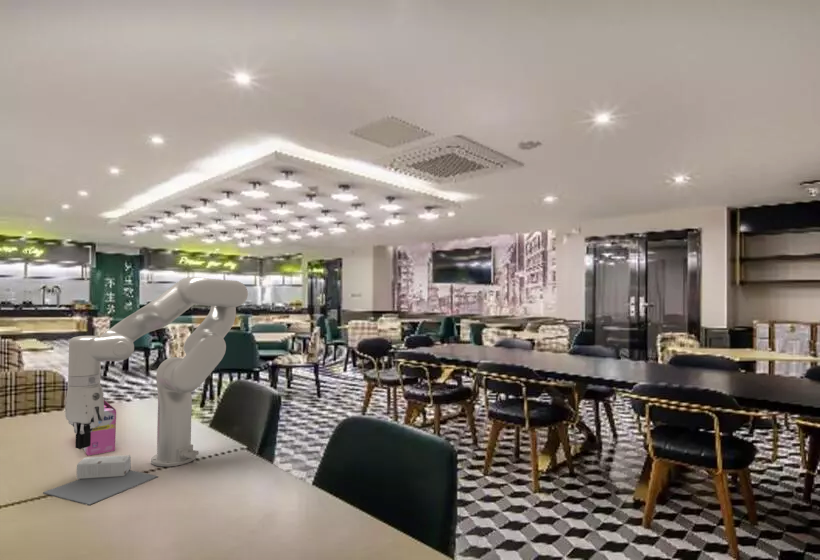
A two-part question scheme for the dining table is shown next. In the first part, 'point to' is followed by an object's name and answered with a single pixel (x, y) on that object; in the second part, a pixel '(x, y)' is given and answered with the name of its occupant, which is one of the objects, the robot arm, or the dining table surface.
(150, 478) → the mat
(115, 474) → the skincare box
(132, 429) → the dining table surface
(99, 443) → the gum box
